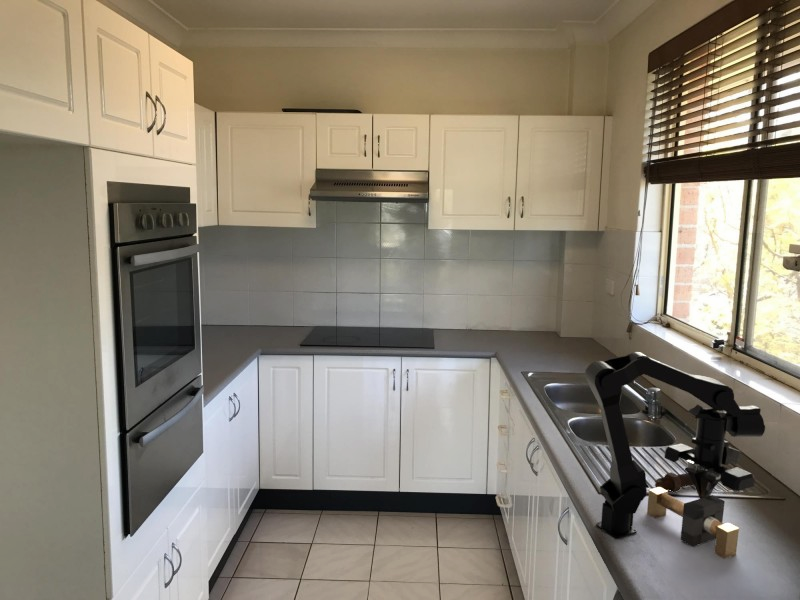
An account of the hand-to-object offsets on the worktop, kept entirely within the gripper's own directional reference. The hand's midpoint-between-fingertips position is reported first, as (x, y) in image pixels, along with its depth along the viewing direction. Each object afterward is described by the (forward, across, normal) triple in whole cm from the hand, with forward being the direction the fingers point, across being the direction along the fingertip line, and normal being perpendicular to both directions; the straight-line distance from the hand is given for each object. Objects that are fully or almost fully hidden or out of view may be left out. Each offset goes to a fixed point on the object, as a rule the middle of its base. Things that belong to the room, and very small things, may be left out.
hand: (703, 501), depth 137 cm
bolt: (+8, +16, -14) cm, 22 cm away
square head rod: (+7, 0, +4) cm, 8 cm away
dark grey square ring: (+7, -3, +4) cm, 8 cm away
